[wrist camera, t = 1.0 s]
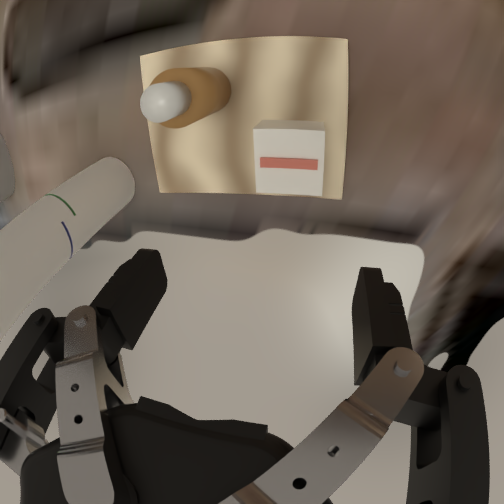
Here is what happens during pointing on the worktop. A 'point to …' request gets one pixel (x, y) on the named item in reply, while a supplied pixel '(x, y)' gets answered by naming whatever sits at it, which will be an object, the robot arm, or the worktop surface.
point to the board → (252, 110)
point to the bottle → (185, 96)
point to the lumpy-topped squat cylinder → (6, 172)
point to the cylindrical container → (57, 232)
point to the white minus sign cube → (289, 157)
